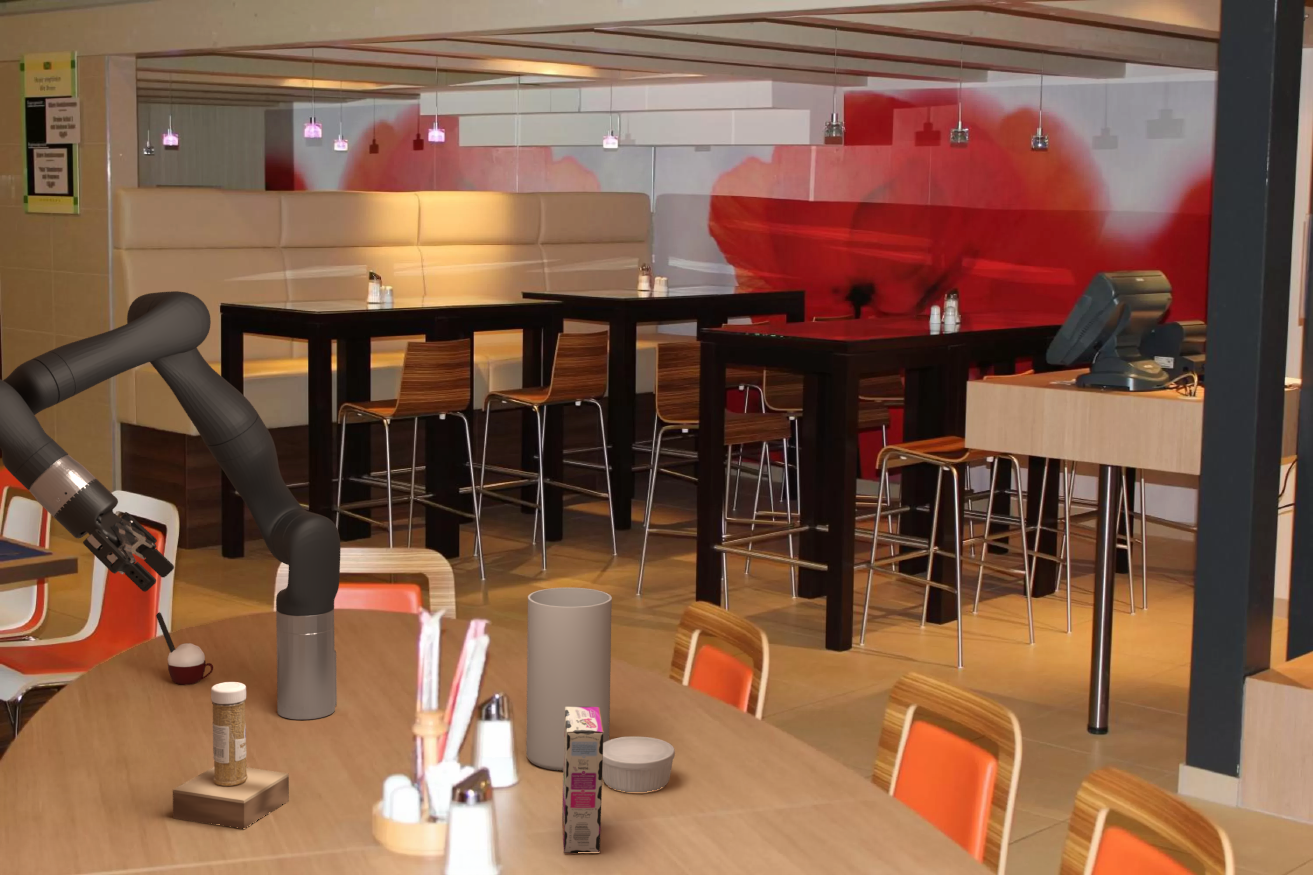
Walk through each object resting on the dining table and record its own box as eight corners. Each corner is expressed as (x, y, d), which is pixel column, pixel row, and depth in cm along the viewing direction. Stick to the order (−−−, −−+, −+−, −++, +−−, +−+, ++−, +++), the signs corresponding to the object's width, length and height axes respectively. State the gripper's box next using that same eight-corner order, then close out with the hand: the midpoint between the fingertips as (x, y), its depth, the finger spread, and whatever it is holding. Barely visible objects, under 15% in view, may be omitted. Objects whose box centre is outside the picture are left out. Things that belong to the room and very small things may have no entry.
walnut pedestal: (220, 790, 219) (220, 763, 218) (289, 800, 215) (288, 773, 215) (173, 817, 208) (172, 789, 208) (244, 829, 205) (243, 800, 204)
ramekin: (618, 802, 218) (618, 766, 217) (584, 776, 227) (585, 741, 227) (688, 790, 223) (689, 754, 222) (652, 765, 233) (653, 731, 232)
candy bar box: (602, 854, 199) (604, 731, 197) (563, 855, 199) (565, 731, 196) (598, 821, 210) (600, 704, 208) (561, 822, 210) (563, 704, 207)
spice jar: (252, 783, 210) (250, 687, 209) (219, 789, 208) (217, 692, 206) (240, 772, 214) (239, 678, 212) (208, 778, 212) (206, 683, 210)
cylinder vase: (577, 778, 226) (580, 611, 223) (509, 761, 233) (511, 599, 229) (624, 754, 237) (627, 595, 233) (558, 739, 243) (560, 583, 240)
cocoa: (217, 682, 271) (220, 615, 269) (194, 690, 265) (196, 622, 263) (173, 673, 274) (176, 607, 273) (149, 681, 268) (152, 613, 267)
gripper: (74, 486, 203) (165, 572, 205) (109, 469, 217) (193, 550, 219) (35, 525, 204) (125, 611, 206) (72, 505, 218) (156, 586, 220)
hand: (160, 579), depth 212 cm, fingers open, 8 cm apart
